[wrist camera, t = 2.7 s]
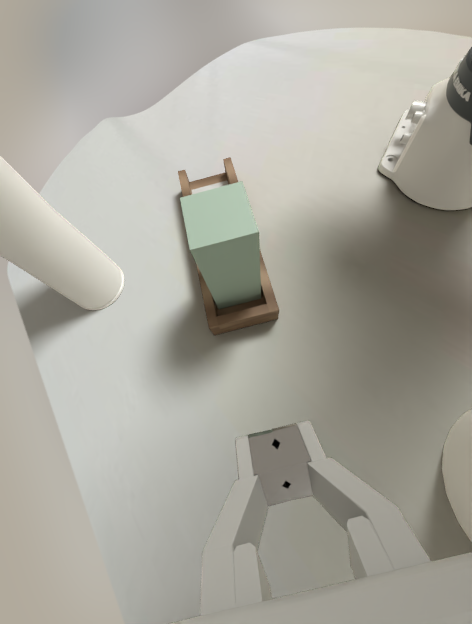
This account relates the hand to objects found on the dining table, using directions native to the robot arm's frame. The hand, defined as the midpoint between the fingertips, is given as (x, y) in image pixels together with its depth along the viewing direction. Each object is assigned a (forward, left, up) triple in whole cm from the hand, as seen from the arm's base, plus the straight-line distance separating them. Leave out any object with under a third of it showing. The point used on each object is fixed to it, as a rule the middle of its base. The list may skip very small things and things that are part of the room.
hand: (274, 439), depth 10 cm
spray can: (-11, -32, -21) cm, 40 cm away
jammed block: (-15, -9, -20) cm, 27 cm away
